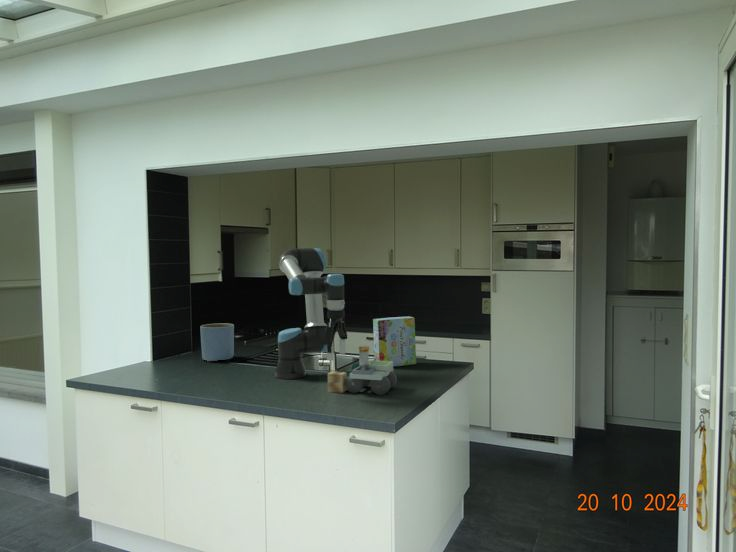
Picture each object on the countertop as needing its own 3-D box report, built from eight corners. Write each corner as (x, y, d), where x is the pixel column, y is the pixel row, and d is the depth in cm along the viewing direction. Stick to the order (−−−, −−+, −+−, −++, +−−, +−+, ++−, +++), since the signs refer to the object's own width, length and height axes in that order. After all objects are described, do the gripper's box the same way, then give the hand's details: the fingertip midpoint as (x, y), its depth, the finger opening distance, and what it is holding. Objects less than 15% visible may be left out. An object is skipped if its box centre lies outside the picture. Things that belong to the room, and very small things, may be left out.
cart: (342, 393, 236) (342, 369, 236) (357, 384, 253) (357, 361, 253) (386, 397, 230) (386, 372, 229) (398, 386, 247) (398, 363, 246)
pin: (357, 373, 235) (357, 347, 235) (360, 370, 240) (360, 345, 239) (367, 373, 234) (367, 348, 233) (370, 371, 238) (370, 346, 238)
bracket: (370, 377, 267) (370, 361, 266) (363, 380, 261) (363, 364, 261) (339, 374, 276) (339, 358, 275) (332, 377, 270) (331, 361, 269)
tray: (362, 370, 241) (362, 364, 241) (370, 365, 251) (370, 360, 251) (386, 371, 238) (386, 365, 238) (393, 366, 247) (393, 361, 247)
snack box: (409, 362, 302) (409, 315, 301) (416, 364, 294) (416, 317, 293) (373, 365, 294) (372, 318, 293) (379, 368, 286) (378, 319, 285)
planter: (204, 356, 328) (203, 323, 327) (236, 355, 330) (235, 322, 329) (198, 363, 309) (197, 328, 308) (232, 361, 311) (231, 327, 310)
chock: (327, 391, 240) (327, 373, 240) (332, 389, 245) (331, 371, 245) (342, 392, 238) (342, 374, 238) (346, 390, 243) (346, 372, 243)
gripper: (332, 313, 227) (332, 363, 229) (354, 305, 250) (354, 351, 252) (316, 312, 230) (316, 362, 231) (339, 305, 253) (339, 350, 255)
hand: (336, 356), depth 242 cm, fingers open, 13 cm apart
